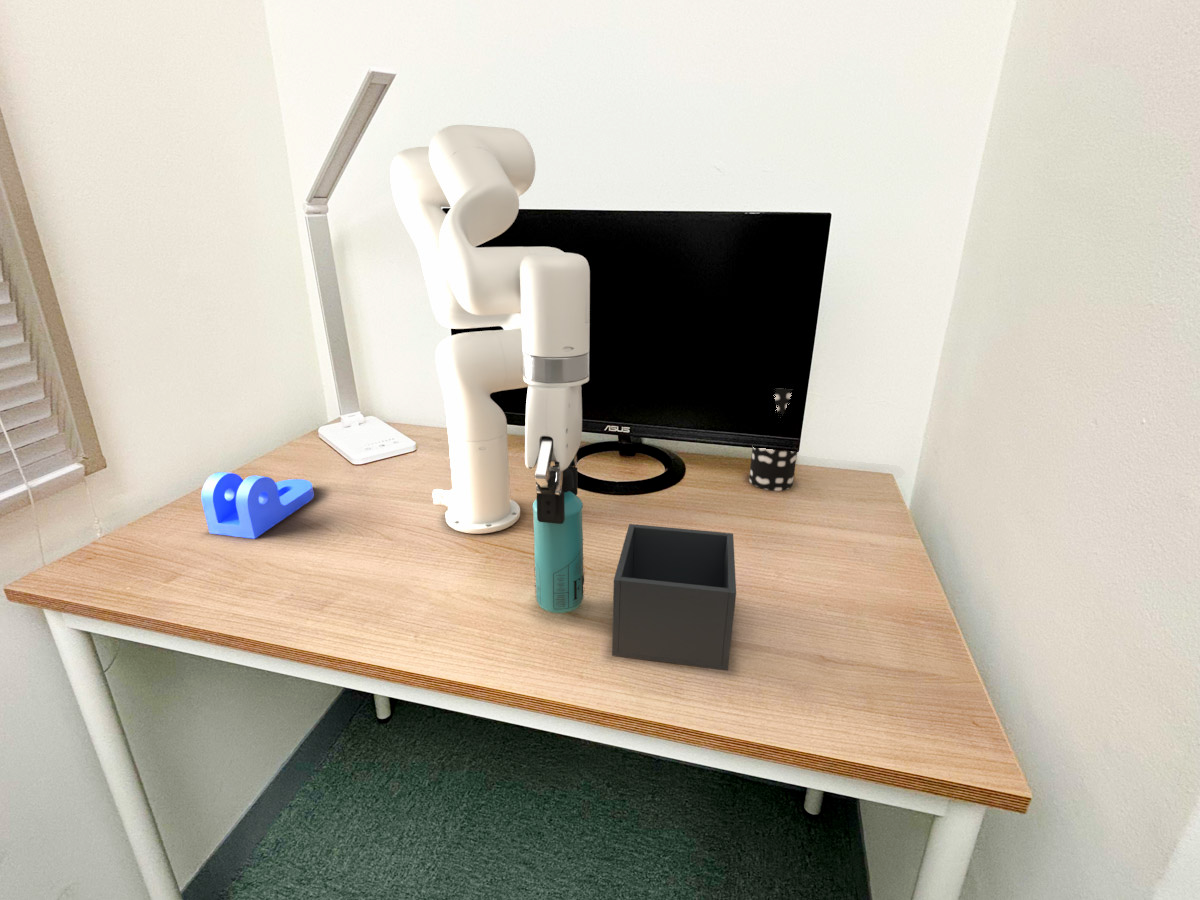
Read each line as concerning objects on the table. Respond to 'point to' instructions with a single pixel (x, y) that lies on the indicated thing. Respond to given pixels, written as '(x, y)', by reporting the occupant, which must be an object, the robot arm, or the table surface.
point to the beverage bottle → (560, 554)
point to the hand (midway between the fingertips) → (558, 507)
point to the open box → (675, 596)
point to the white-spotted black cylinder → (774, 457)
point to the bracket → (250, 503)
